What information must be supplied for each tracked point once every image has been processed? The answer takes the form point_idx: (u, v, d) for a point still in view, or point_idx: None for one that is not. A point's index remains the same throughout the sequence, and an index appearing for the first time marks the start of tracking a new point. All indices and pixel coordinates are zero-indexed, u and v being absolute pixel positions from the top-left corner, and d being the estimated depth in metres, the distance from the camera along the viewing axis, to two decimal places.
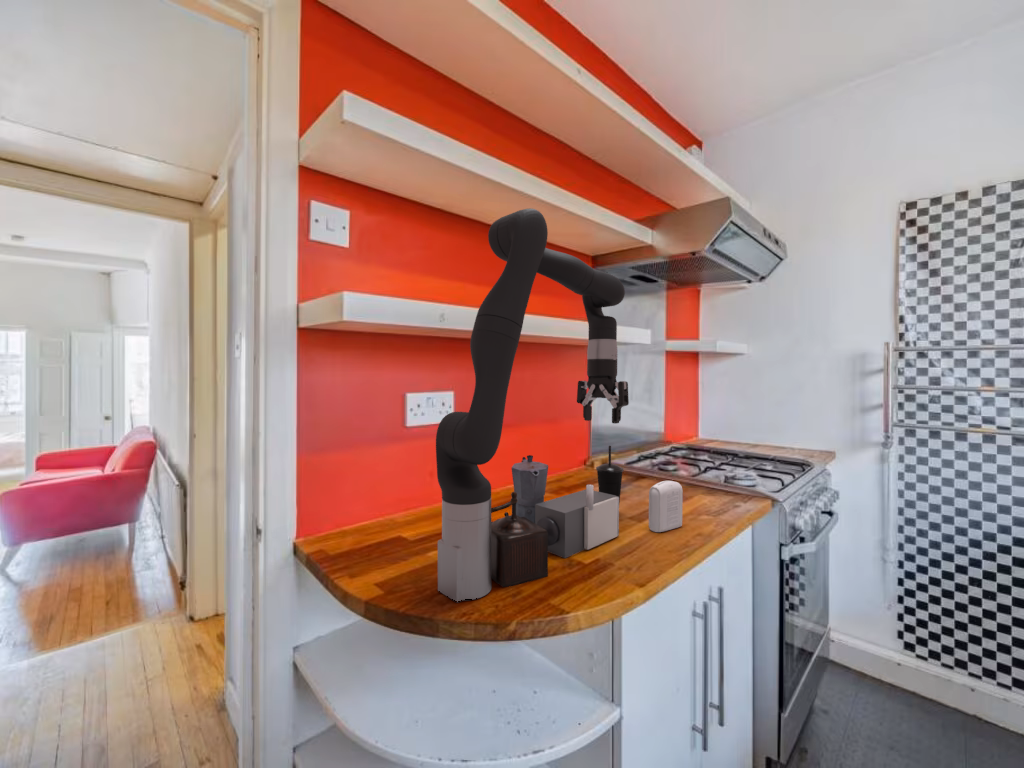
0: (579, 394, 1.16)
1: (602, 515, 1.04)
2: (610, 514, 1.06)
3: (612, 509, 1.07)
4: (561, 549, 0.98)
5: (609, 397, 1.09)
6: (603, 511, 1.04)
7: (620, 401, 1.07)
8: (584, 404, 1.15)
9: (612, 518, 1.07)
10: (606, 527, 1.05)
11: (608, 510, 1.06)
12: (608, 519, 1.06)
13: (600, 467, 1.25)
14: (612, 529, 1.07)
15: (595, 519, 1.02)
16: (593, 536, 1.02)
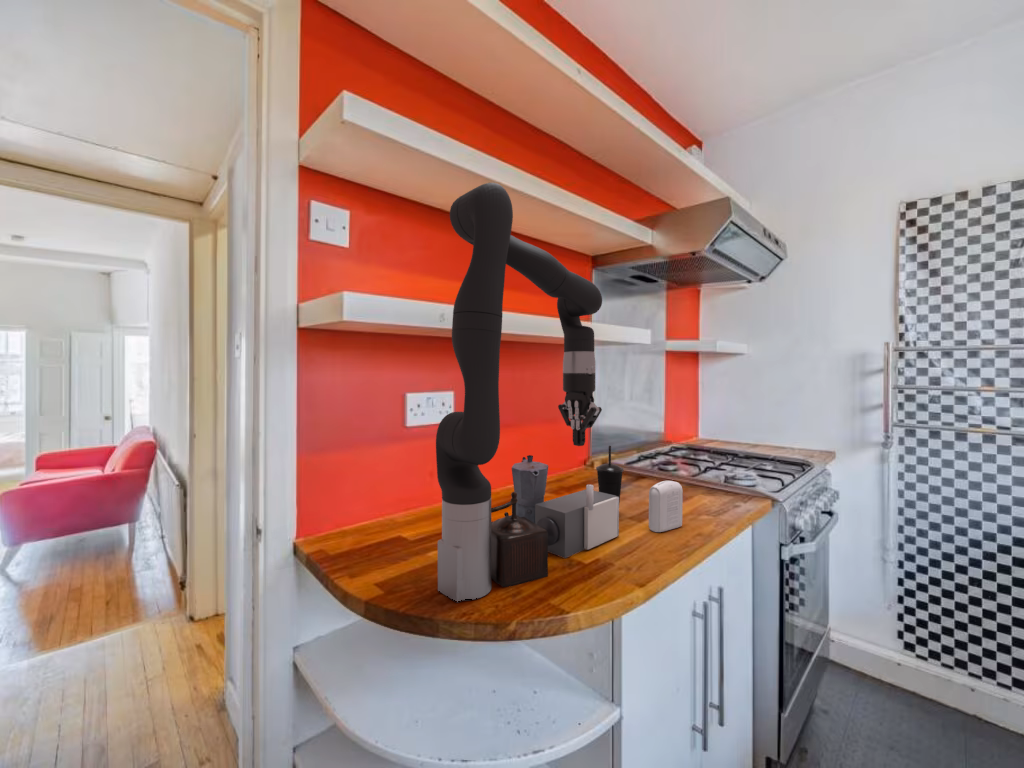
0: (565, 416, 1.06)
1: (602, 515, 1.04)
2: (610, 514, 1.06)
3: (612, 509, 1.07)
4: (561, 549, 0.98)
5: (577, 418, 1.01)
6: (603, 511, 1.04)
7: (583, 423, 1.00)
8: (573, 426, 1.03)
9: (612, 518, 1.07)
10: (606, 527, 1.05)
11: (608, 510, 1.06)
12: (608, 519, 1.06)
13: (600, 467, 1.25)
14: (612, 529, 1.07)
15: (595, 519, 1.02)
16: (593, 536, 1.02)
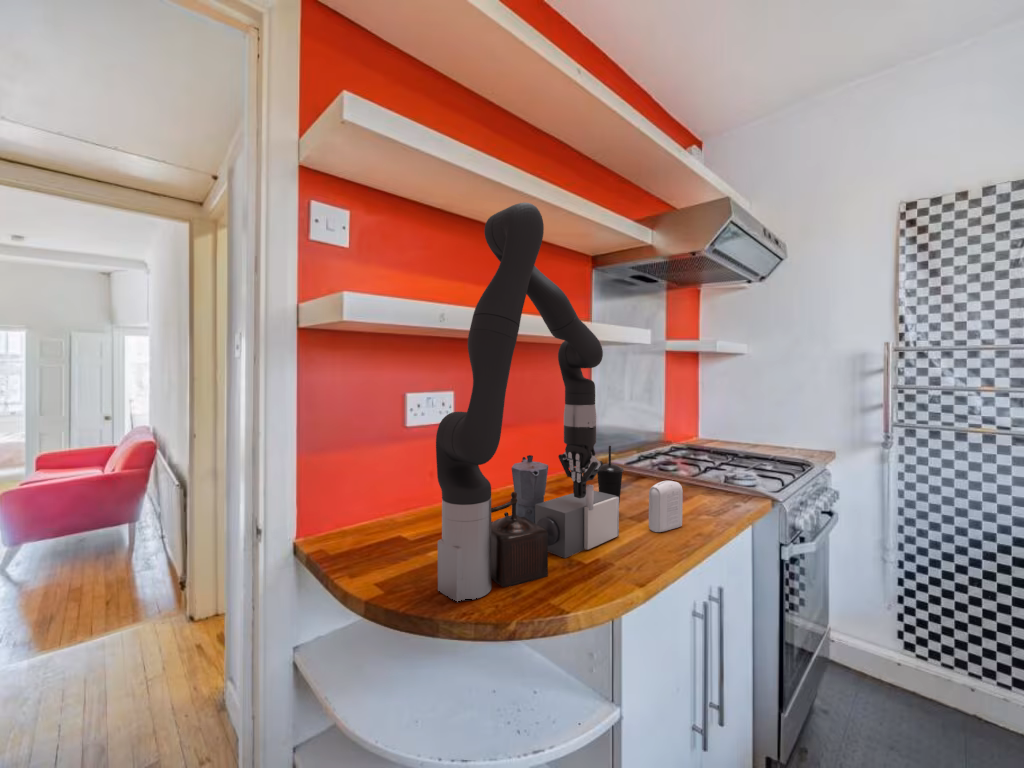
0: (565, 467, 1.06)
1: (602, 515, 1.04)
2: (610, 514, 1.06)
3: (612, 509, 1.07)
4: (561, 549, 0.98)
5: (578, 470, 1.02)
6: (603, 511, 1.04)
7: (584, 477, 1.01)
8: (574, 478, 1.03)
9: (612, 518, 1.07)
10: (606, 527, 1.05)
11: (608, 510, 1.06)
12: (608, 519, 1.06)
13: None
14: (612, 529, 1.07)
15: (595, 519, 1.02)
16: (593, 536, 1.02)
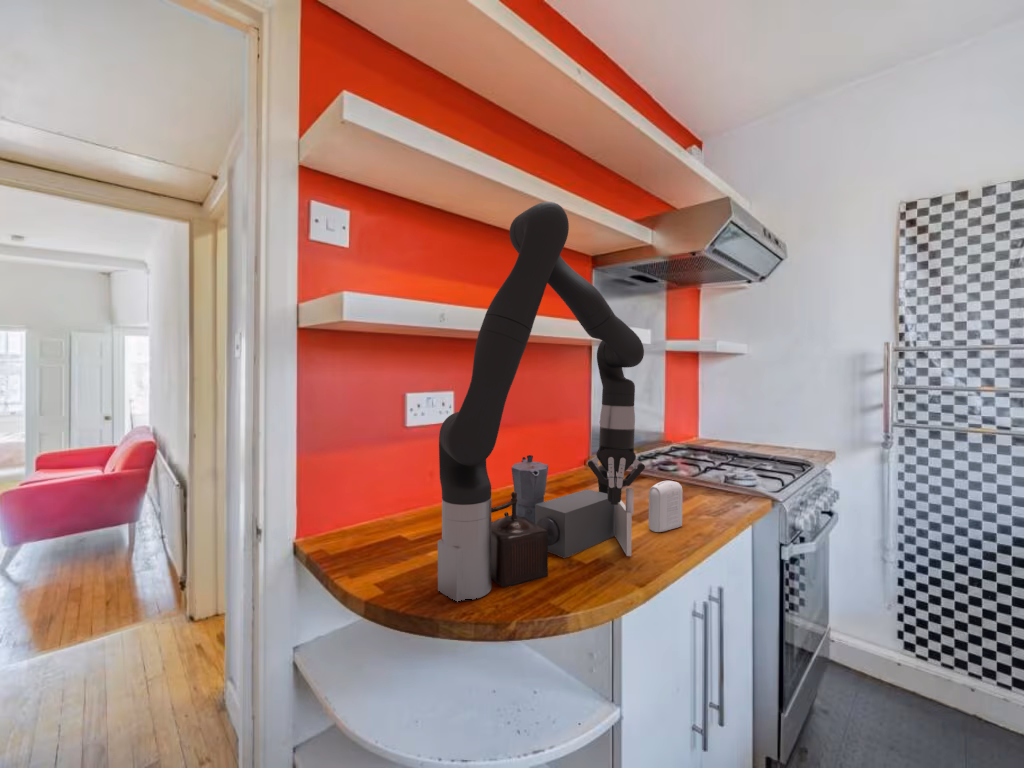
0: (599, 474, 0.97)
1: None
2: None
3: None
4: (561, 549, 0.98)
5: (621, 475, 0.96)
6: None
7: (628, 481, 0.96)
8: (612, 485, 0.97)
9: None
10: None
11: None
12: None
13: (600, 467, 1.25)
14: None
15: None
16: None
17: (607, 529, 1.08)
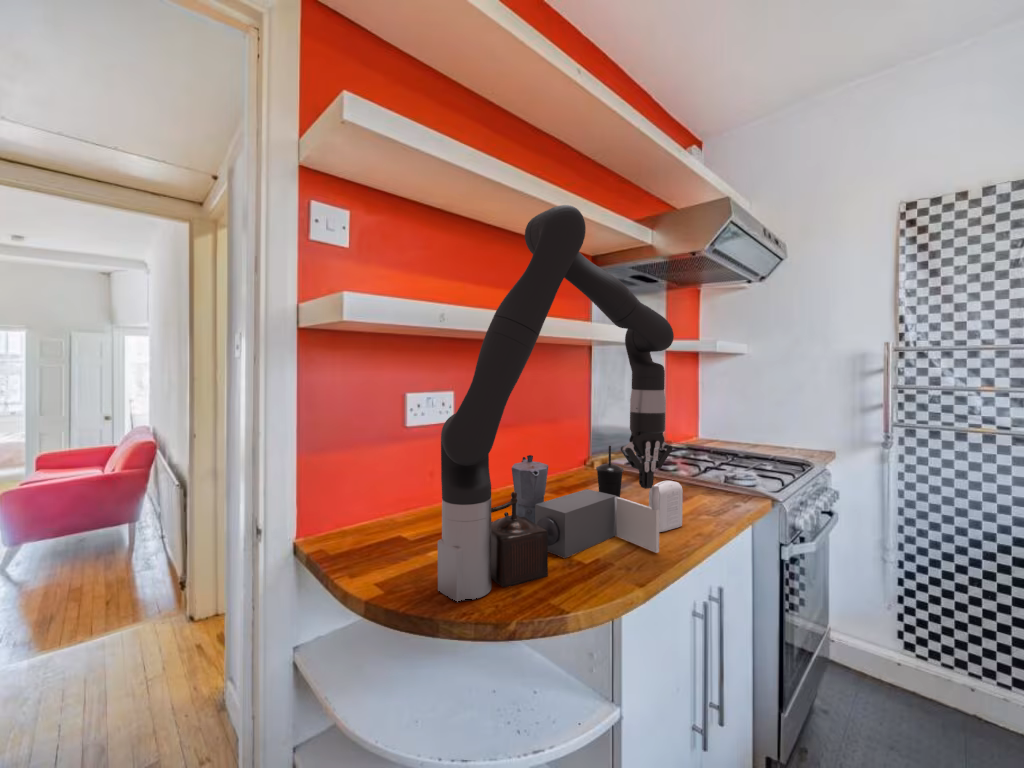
0: (637, 460, 0.96)
1: None
2: None
3: None
4: (561, 549, 0.98)
5: (656, 459, 0.97)
6: None
7: (660, 463, 0.98)
8: (648, 469, 0.97)
9: None
10: None
11: None
12: None
13: (600, 467, 1.25)
14: None
15: None
16: None
17: (607, 529, 1.08)
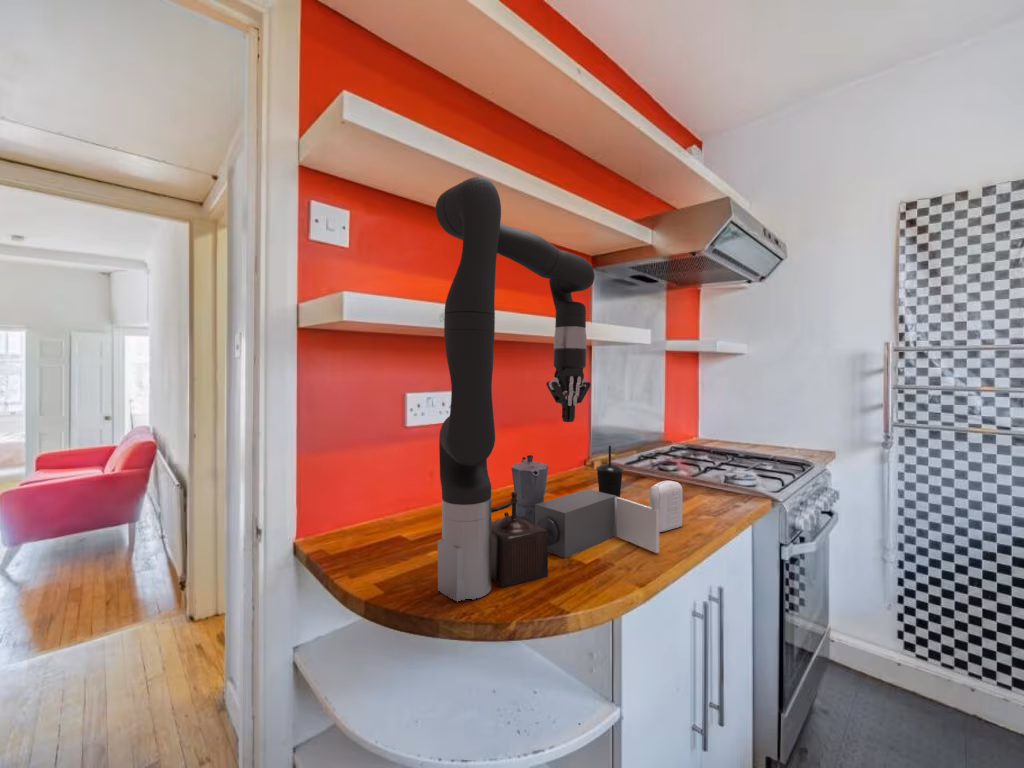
0: (561, 394, 1.00)
1: None
2: None
3: None
4: (561, 549, 0.98)
5: (578, 393, 1.03)
6: None
7: (581, 398, 1.04)
8: (570, 403, 1.02)
9: None
10: None
11: None
12: None
13: (600, 467, 1.25)
14: None
15: None
16: None
17: (607, 529, 1.08)
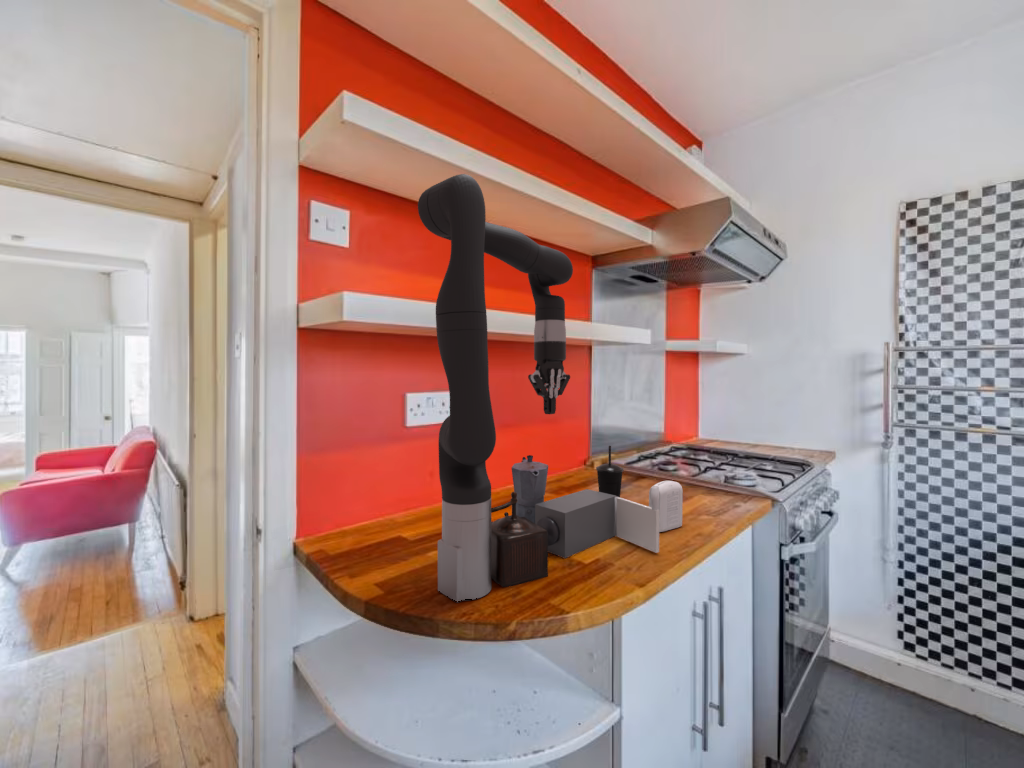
0: (543, 386, 1.01)
1: None
2: None
3: None
4: (561, 549, 0.98)
5: (558, 385, 1.04)
6: None
7: (561, 390, 1.06)
8: (552, 395, 1.03)
9: None
10: None
11: None
12: None
13: (600, 467, 1.25)
14: None
15: None
16: None
17: (607, 529, 1.08)
